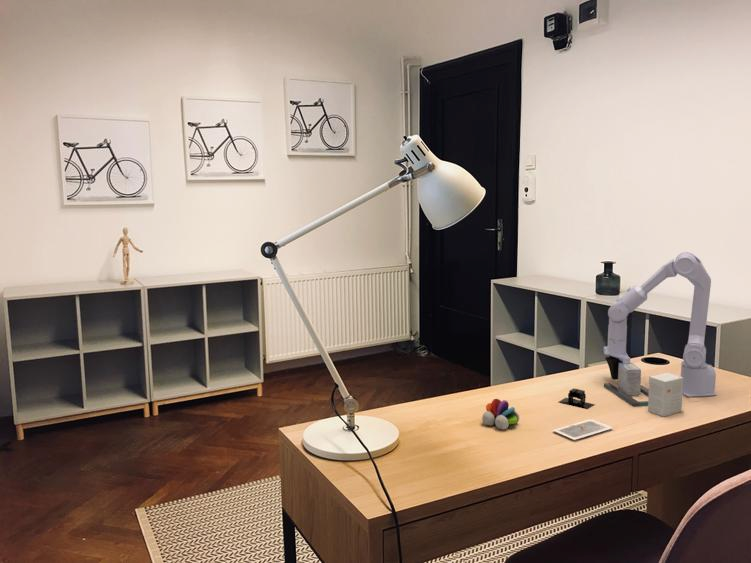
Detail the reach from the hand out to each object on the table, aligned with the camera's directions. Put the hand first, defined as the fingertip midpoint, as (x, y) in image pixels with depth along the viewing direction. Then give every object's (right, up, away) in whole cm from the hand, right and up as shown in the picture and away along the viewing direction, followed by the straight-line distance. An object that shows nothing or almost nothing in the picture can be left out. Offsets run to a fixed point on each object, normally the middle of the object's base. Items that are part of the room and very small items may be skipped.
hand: (615, 378), depth 214 cm
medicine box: (+1, -3, -9) cm, 9 cm away
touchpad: (-23, -9, -39) cm, 47 cm away
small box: (+5, -6, -26) cm, 27 cm away
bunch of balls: (-44, -8, -33) cm, 56 cm away
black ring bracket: (-18, -5, -18) cm, 26 cm away
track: (+1, -3, -13) cm, 13 cm away
